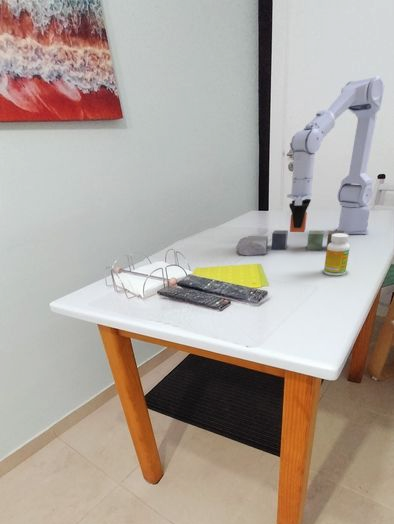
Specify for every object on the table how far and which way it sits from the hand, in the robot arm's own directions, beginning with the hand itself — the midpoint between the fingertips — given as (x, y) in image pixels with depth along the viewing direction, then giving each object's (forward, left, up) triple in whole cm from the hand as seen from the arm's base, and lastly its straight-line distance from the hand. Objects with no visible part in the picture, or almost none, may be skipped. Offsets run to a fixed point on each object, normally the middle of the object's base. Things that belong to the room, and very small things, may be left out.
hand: (298, 225), depth 107 cm
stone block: (+14, +4, -7) cm, 16 cm away
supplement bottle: (-12, +22, -7) cm, 26 cm away
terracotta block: (0, 0, -1) cm, 1 cm away
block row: (-3, 0, -7) cm, 8 cm away
